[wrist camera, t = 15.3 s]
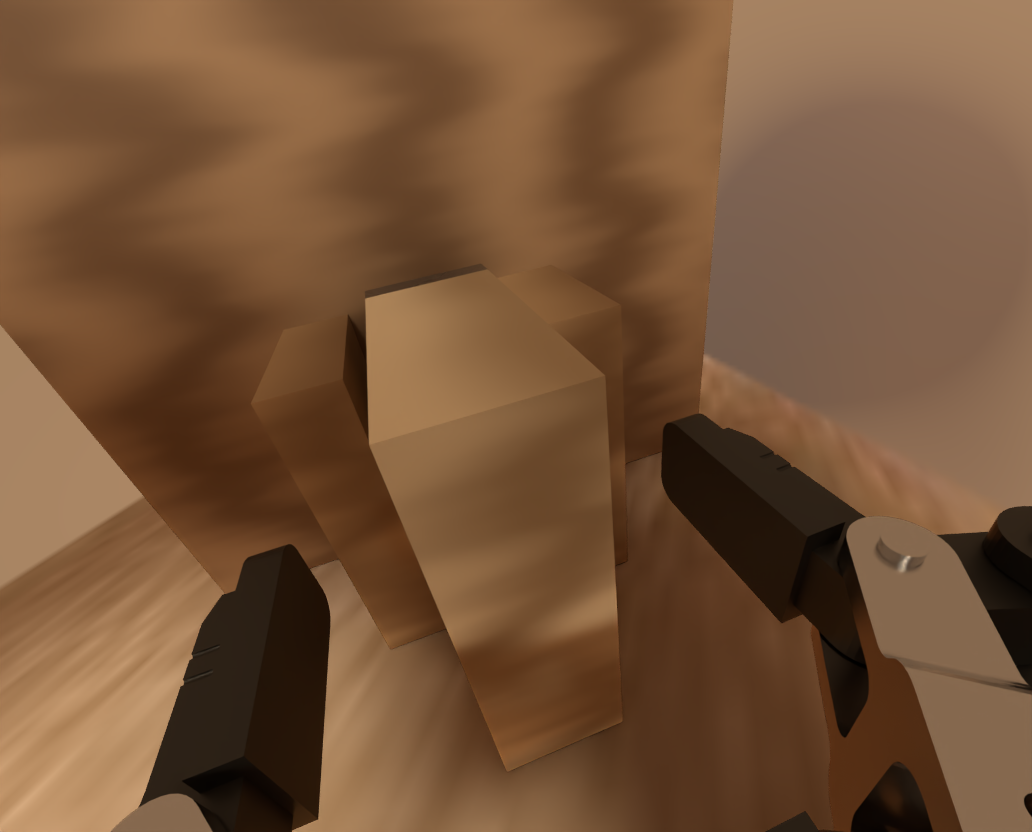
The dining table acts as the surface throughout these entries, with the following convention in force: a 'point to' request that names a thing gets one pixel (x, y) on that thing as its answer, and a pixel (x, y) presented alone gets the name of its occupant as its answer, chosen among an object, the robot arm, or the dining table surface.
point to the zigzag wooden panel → (344, 234)
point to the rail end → (502, 499)
